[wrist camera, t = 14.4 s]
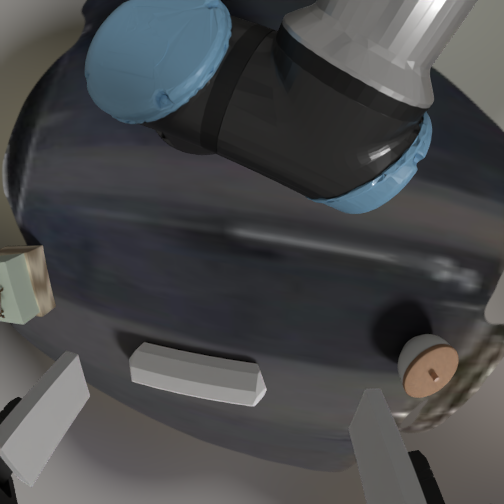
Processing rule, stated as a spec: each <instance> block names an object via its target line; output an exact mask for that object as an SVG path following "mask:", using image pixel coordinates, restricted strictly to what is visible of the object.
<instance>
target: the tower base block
mask: <svg viewBox="0 0 504 504" xmlns="http://www.w3.org/2000/svg"><path fill="white" fill-rule="evenodd" d="M21 253H24V256H25V260H26V264H27V268H28V272H29V276H30V280H31V284H32V287H33V291H34V294H35V298H36V301H37V304H38V307H39V310H40V313H38V314H37V315H36V316H40V317H43V316H44V315H45V314H47V313H48V312H49V311H50V310H52V309H53V308H54V307H56V305H55V302H54V298H53V294H52V289H51V285H50V281H49V276H48V271H47V266H46V261H45V256H44V250H43V246H27V245H25V246H6V247H4V248H1V249H0V256H2V255H11V254H21Z"/></svg>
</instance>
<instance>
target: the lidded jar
mask: <svg viewBox="0 0 504 504" xmlns="http://www.w3.org/2000/svg"><path fill="white" fill-rule="evenodd" d="M457 366H458V354H457V352H456V350H455V349H454V348H453V347H452V346H450V345H449V344H448V343H447V342H446V341H445V340H444V339H443V338H441V337H439V336H437V335H433V334H423V335H419V336H415V337H413V338H412V339H410V340H409V341H408V342H407V343H406V344H405V345H404V347H403V349H402V351H401V353H400V355H399V359H398V374H399V377H400V380H401V382H402V384H403V387H404V389H405V391H406V393H407V394H408V395H410V396H412V397H417V398H420V397H426V396H429V395H431V394H433V393H435V392H437V391H438V390H440V389H441V388H442V387H444V386H445V385H446V384H447V383H448V382H449V380H450V379H451V378H452V376H453V375H454V373H455V371H456V369H457Z"/></svg>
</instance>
